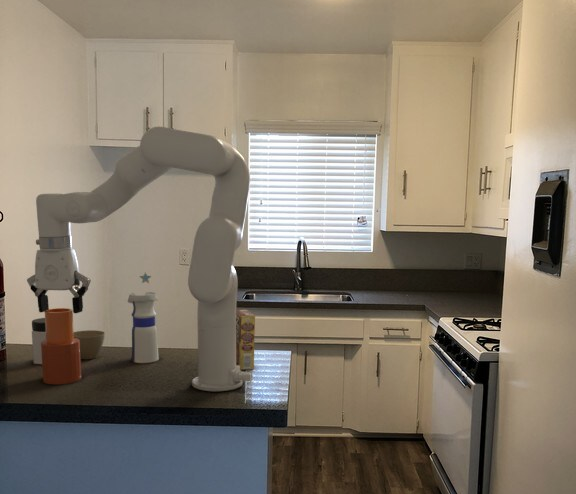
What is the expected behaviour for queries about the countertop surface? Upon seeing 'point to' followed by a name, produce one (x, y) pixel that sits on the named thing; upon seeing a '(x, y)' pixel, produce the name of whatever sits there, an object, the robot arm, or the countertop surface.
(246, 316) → the candy box
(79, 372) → the terracotta jar
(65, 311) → the orange cup
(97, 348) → the beige bowl
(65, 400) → the countertop surface
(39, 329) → the jar
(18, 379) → the countertop surface
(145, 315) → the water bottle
